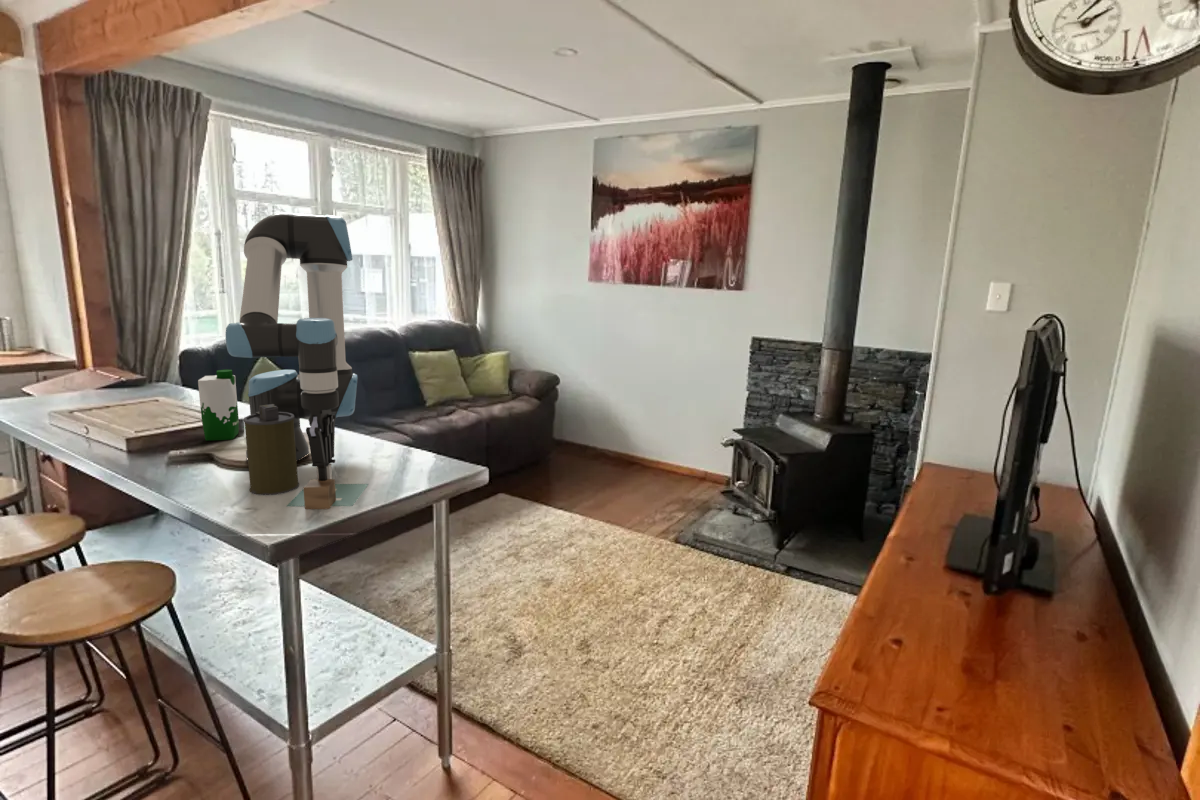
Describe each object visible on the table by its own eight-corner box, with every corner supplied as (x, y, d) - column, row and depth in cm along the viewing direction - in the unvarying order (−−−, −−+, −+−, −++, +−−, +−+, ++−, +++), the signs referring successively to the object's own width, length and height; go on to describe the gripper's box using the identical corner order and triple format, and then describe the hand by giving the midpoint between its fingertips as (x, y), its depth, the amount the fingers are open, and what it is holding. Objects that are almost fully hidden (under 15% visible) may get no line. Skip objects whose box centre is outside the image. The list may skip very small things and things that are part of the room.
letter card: (308, 485, 150) (308, 483, 150) (368, 485, 152) (368, 483, 152) (286, 507, 136) (286, 506, 136) (352, 507, 138) (352, 505, 138)
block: (312, 500, 140) (311, 479, 139) (335, 500, 141) (334, 479, 140) (305, 509, 135) (303, 487, 134) (329, 509, 136) (327, 487, 135)
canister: (306, 488, 148) (301, 406, 143) (259, 500, 140) (252, 413, 136) (287, 477, 155) (281, 398, 150) (241, 487, 147) (234, 404, 143)
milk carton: (235, 440, 183) (229, 373, 178) (200, 441, 180) (193, 373, 176) (242, 432, 191) (237, 367, 187) (209, 433, 188) (202, 368, 184)
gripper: (311, 384, 142) (317, 482, 147) (290, 395, 129) (297, 503, 134) (345, 384, 143) (350, 482, 147) (328, 396, 130) (334, 503, 135)
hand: (325, 492), depth 141 cm, fingers closed
